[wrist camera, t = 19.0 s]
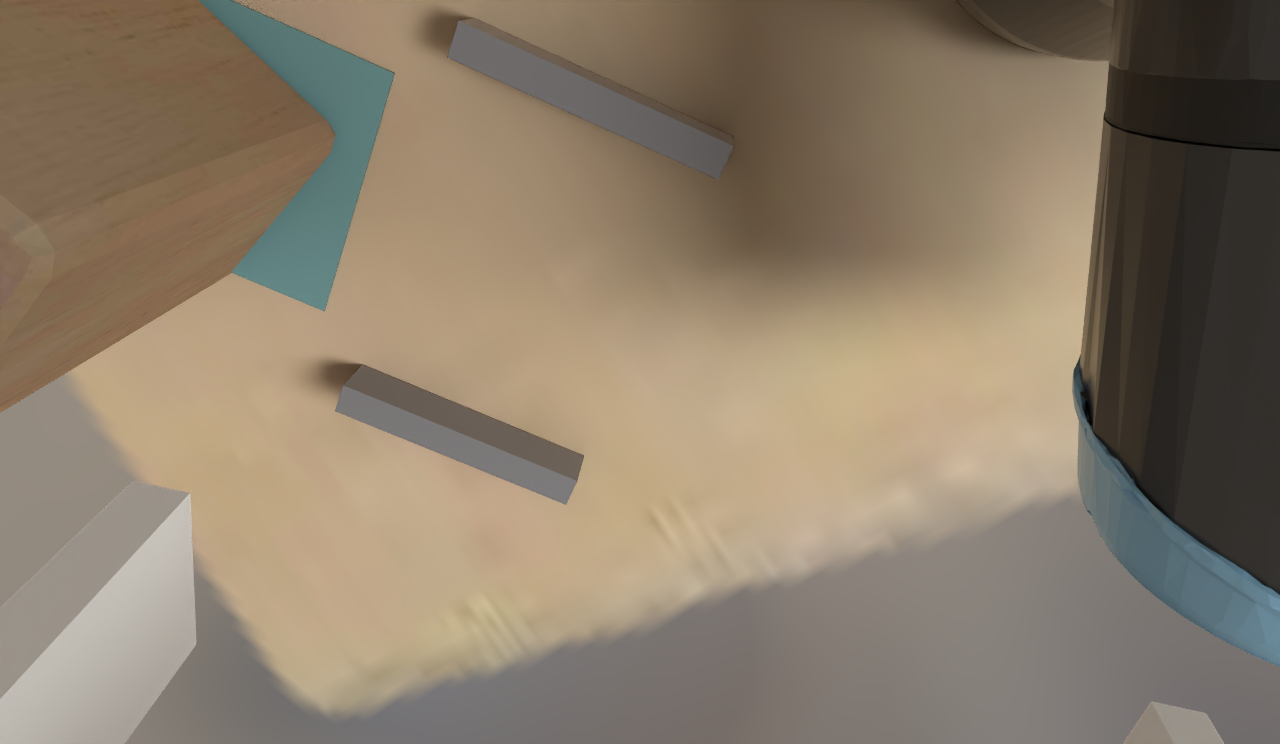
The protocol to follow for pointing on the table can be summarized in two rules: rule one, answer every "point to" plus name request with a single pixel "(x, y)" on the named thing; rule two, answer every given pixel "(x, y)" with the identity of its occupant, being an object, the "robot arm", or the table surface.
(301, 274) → the mat
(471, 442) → the chute
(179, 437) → the table surface
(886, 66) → the table surface
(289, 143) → the wooden block
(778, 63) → the table surface
